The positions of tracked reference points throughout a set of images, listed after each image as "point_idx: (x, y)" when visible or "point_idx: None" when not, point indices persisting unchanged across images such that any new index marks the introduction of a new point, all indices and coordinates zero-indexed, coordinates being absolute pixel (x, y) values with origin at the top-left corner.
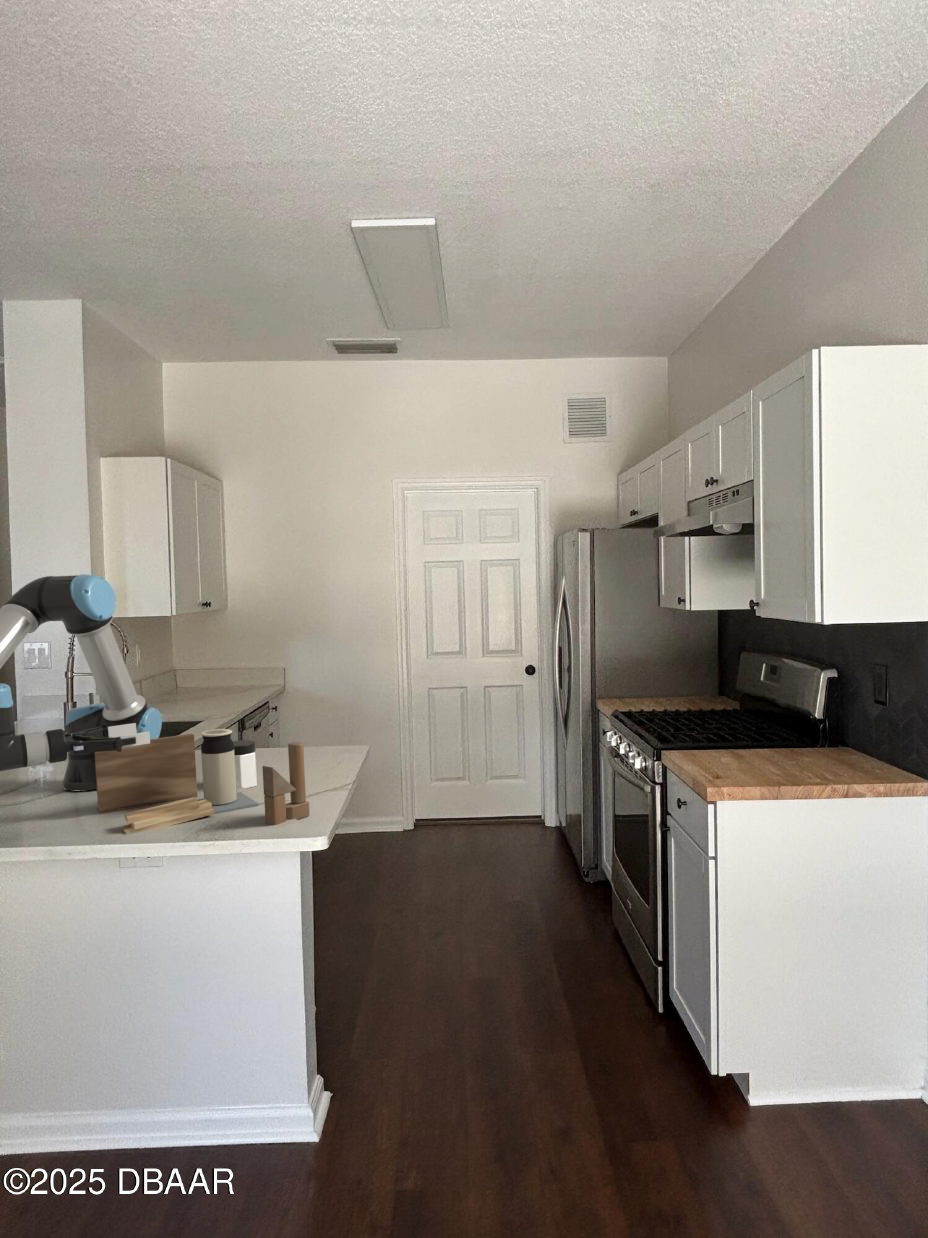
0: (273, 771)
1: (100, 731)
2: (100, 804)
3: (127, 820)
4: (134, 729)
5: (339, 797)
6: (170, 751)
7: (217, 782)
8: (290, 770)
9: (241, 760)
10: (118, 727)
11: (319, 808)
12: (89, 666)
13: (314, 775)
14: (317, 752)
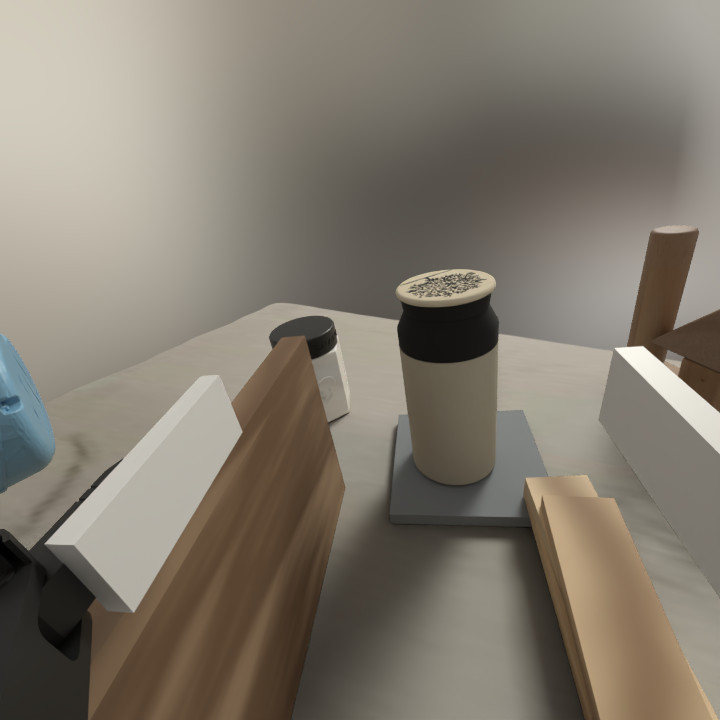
0: None
1: (25, 676)
2: None
3: None
4: (228, 413)
5: (520, 337)
6: (291, 419)
7: (495, 417)
8: (674, 297)
9: (338, 358)
10: (151, 469)
11: (580, 360)
12: None
13: (362, 340)
14: (251, 325)
